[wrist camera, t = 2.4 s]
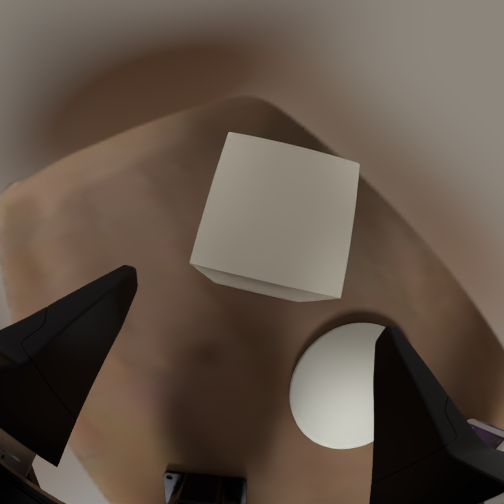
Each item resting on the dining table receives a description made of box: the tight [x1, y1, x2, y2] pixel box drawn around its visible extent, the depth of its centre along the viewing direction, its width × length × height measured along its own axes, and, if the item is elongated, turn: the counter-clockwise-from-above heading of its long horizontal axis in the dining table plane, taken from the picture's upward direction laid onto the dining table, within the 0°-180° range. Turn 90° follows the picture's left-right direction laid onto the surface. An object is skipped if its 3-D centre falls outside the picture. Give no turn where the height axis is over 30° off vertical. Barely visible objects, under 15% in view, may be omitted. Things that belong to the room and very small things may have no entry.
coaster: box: [289, 323, 385, 449], centre depth 19 cm, size 10×10×1 cm
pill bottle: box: [467, 419, 504, 451], centre depth 13 cm, size 5×5×10 cm
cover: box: [190, 132, 360, 302], centre depth 16 cm, size 6×6×10 cm
